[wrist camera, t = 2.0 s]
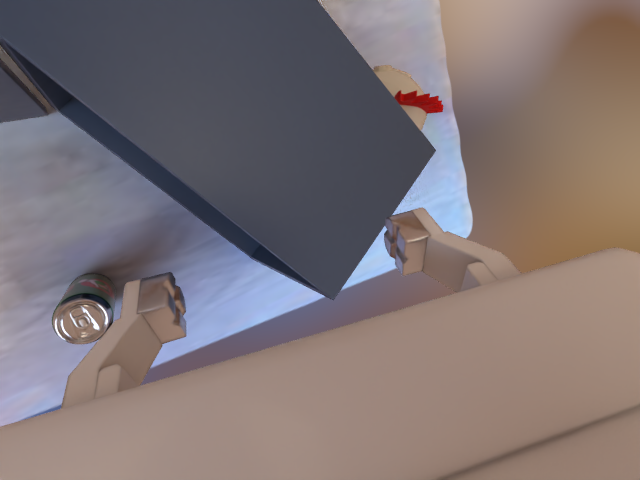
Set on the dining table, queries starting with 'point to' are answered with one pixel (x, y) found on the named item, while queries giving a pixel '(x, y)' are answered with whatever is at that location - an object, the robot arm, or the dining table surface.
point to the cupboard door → (17, 98)
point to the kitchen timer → (408, 94)
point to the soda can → (85, 309)
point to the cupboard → (233, 117)
